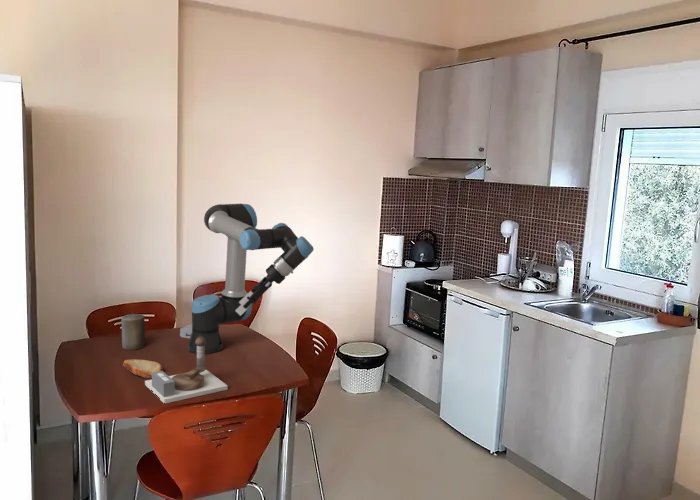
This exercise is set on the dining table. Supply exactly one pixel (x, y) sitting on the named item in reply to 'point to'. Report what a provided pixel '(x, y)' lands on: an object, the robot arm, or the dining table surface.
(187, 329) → the charger
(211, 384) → the stand
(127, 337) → the pillar candle
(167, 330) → the dining table surface
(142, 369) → the slice of bread
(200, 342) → the cam handle
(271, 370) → the dining table surface
